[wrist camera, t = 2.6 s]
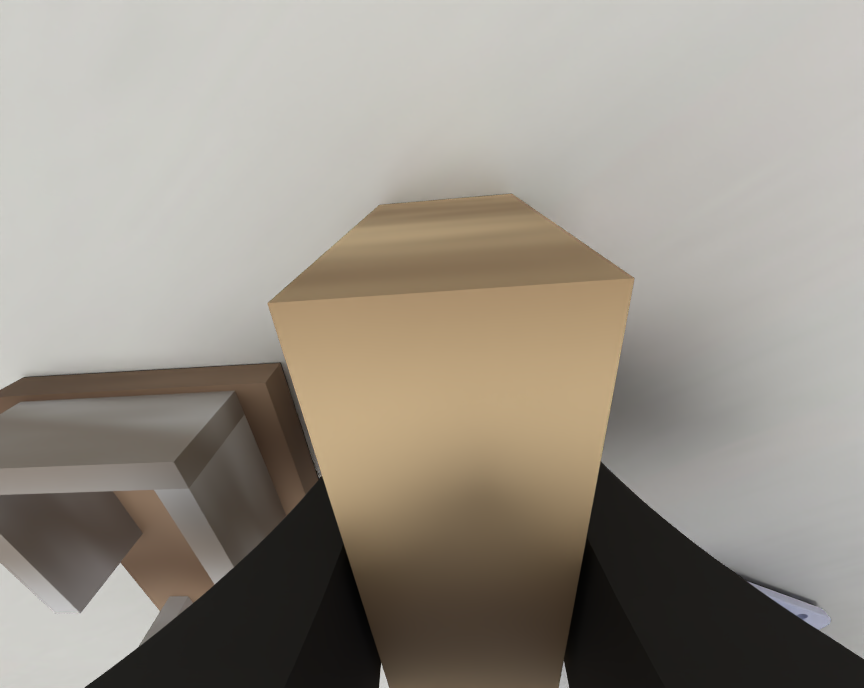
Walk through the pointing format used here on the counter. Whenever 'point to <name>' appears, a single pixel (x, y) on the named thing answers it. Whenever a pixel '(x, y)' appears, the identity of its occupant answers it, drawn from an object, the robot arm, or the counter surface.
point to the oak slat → (459, 427)
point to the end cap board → (145, 479)
